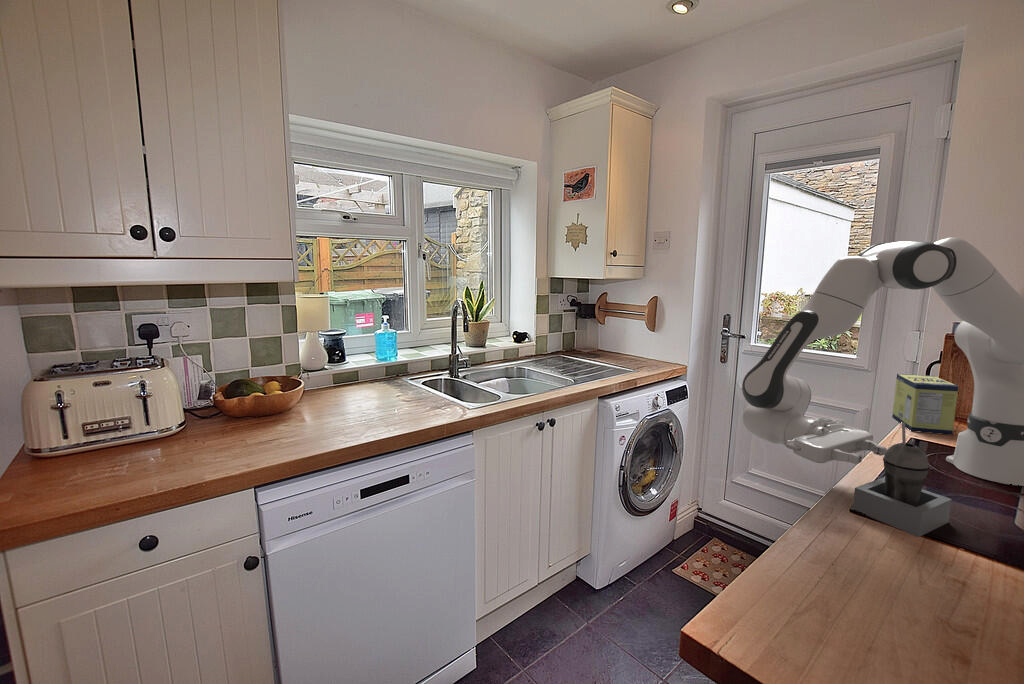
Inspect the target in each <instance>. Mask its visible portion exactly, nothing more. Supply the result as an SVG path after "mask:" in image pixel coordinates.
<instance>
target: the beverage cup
mask: <svg viewBox="0 0 1024 684" xmlns="http://www.w3.org/2000/svg"><path fill="white" fill-rule="evenodd" d="M901 432H902V433H901V437H902V438H901V441H902V442H898V443H894V444H893V445H891V446H890V447H888V448H886V449H887V451H886V452H885V455H883V456H882V457H883V458H882V461H883V467H884V468H883V469H884V477H885V496H887V497H890V498H893V499H895V500H898V501H901V502H903V503H906V504H909V505H912V506H914V507H917V506H918V502H919V498H920V494H921V490H922V489H923V487H924V482H925V479H926V478H927V476H928V473H929V470H930V464H929V463H930V462H929V459H928V456H927V454H926V452H924V451H923V449H922V448H920V447H919V446H917V445H914V444H912V443H908V442H906V441H907V440H906V436H907V435H906V427H905V423H902V424H901Z"/></svg>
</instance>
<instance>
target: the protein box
mask: <svg viewBox="0 0 1024 684" xmlns="http://www.w3.org/2000/svg"><path fill="white" fill-rule="evenodd" d="M958 392H959V385H956V384H954V383H952V382H950V381H947V380H945V379H942V378H940V377H938V376H936V375H923V374H907V373H906V374H905V373H896V382H895V391H894V398H893V406H892V415H891V418H892V419H894V420H895V421H897V422H898V423H899V424H900V423H901V422H902V423H905V428H906V427H907V428H908V429H909V430H908V429H907V428H906V429H907V430H908V431H910V430H911V431H910V432H913V431H921V432H920V433H924V432H932V433H931V434H936V433H942V434H941V435H947V434H952V435H953V432H954V424H955V417H956V410H957V402H958Z"/></svg>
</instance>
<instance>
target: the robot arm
mask: <svg viewBox="0 0 1024 684" xmlns="http://www.w3.org/2000/svg"><path fill="white" fill-rule="evenodd" d="M881 288H887V289H894V290H895V289H898V290H899V289H902V290H903V289H904V290H906V289H908V290H913V291H914V290H924V289H928V288H931V289H933V291H935V293H936V294H937V295H938V296H939V298H940V299H941V300H942V302H944V304H945V305H946V306H947V307H948V308H949V310H950V311H951V312H952V314H954V316H956V317H957V318H958V319H960V320H961V322H960V323H959V324H958V325H957V327H956V328H955V331H954V341H955V344H956V346H958V348H959V349H960V350H962V352H963V353H964V354H965V356H966V358H967V360H968V363H969V365H970V369H971V373H972V377H973V382H974V383H973V396H972V397H973V399H972V407H971V412H970V413H969V414H968V417H967V423H966V427H967V428H966V430H965V429H964V430H963V431H960V432H958V435H957V439H956V445H955V449H954V453H953V454H952V455H948V456H946V458H945V461H946V462H948V463H950V464H953V465H954V466H955V467H956V468H957V469H958V470H960V471H962V472H963V473H965V474H968V475H970V476H973V477H976V478H978V479H979V478H980V479H983V480H987V481H991V482H996V483H999V484H1004V485H1010V484H1012V485H1011V486H1018V485H1019V486H1020V487H1021V486H1022V487H1024V296H1023V295H1022V294H1020V293H1019V292H1018V291H1017V290H1016V289H1015V288H1014V287H1013V286H1012V285H1011V284H1010V283H1009V282H1008V280H1007V279H1005V277H1004V276H1003V275H1002V274H1001V273H1000V271H999V270H998V269H997V268H996V266H995V265H993V263H992V262H991V261H990V260H989V258H987V257H986V256H985V255H984V254H983V253H982V252H981V251H980V250H978V249H977V248H976V247H975V246H974V245H972V243H970V242H968V241H966V240H965V239H963V238H960V237H947V238H943V239H940V240H937V241H935V242H930V241H913V240H911V241H910V240H909V241H908V240H905V241H904V240H902V241H895V242H880V243H875V244H873V245H871V246H868V247H867V248H865V249H864V250H862V251H860V253H859V254H857V255H846V256H842V257H840V258H839V259H837V260H836V261H835V262H834V263H833V265H832V266H830V268H829V270H828V271H827V272H826V274H825V275H824V276H823V277H822V279H821V281H820V282H819V284H818V285H817V286H816V288H815V290H814V292H813V294H812V295H811V297H810V298H809V300H808V301H807V303H806V304H805V305H804V306H803V308H802V309H800V311H799V312H798V313H797V312H796V314H795V315H793V316H792V318H791V319H790V320H789V321H788V322H787V323H786V324H785V326H784V327H783V329H782V330H781V331H780V332H779V334H778V335H777V337H776V339H775V340H774V341H773V343H771V346H770V347H769V348H768V350H767V351H766V353H764V355H763V356H762V358H761V359H760V360H759V362H757V364H755V366H753V367H752V368H751V369H750V370H749V371H748V372H747V373H746V374H745V376H744V378H743V380H742V383H741V384H742V385H741V387H742V388H741V391H742V395H743V397H744V399H745V401H746V402H747V403H748V404H749V405H748V406H746V408H745V409H744V411H743V413H742V424H743V426H744V428H745V429H746V431H747V432H748V433H749V434H751V435H752V436H754V437H756V438H758V439H760V440H763V441H766V442H768V443H771V444H774V445H781V446H784V447H786V449H788V450H790V451H791V450H792V452H793V453H794V454H795V455H797V456H799V457H801V458H803V459H806V460H808V461H811V462H812V463H813V462H814V463H815V464H816V463H818V464H825V463H828V462H832V461H838V462H843V463H844V462H846V463H851V464H854V465H858V464H861V463H862V461H863V460H862V459H863V456H862V455H861V454H858V453H861V452H863V451H870V452H872V454H873V455H877V456H880V457H881V456H882V457H883V456H884V455H885V452H886V451H887V449H888V448H887V447H886V446H883V445H880V444H878V443H876V442H875V441H874V436H873V434H872V433H870V432H869V431H866V430H864V429H861V428H858V427H855V426H851V425H848V424H844V423H837V420H836V419H833V418H832V419H831V418H814V417H811V416H810V417H807V416H805V414H806V412H807V409H808V408H809V405H810V402H811V399H812V391H811V388H810V386H809V385H808V383H807V382H806V381H805V380H803V379H801V378H799V377H795V376H793V375H790V374H787V373H788V372H789V370H790V368H791V367H792V365H793V364H794V363H795V362H796V360H797V359H798V357H799V356H800V354H801V352H803V350H804V349H805V348H806V347H807V346H808V345H809V344H811V343H812V342H814V341H816V340H820V339H823V338H828V337H829V338H831V337H836V336H840V335H843V334H844V333H848V332H849V331H850V329H851V328H853V327H854V325H856V323H857V322H858V320H859V319H860V317H861V315H862V314H863V312H864V310H865V309H866V307H867V306H868V303H869V301H870V299H871V298H872V296H873V295H874V294H875V293H876V292H877V291H878V290H879V289H881Z"/></svg>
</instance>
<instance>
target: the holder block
mask: <svg viewBox="0 0 1024 684" xmlns="http://www.w3.org/2000/svg"><path fill="white" fill-rule="evenodd" d="M952 501H953V499H952V498H949V497H946V496H944V495H940V494H938V493H934V492H931V491H928V490H926V489H923V488H922V490H921V494H920V498H919V502H918V506H917V507H914V506H912V505H909V504H906V503H903V502H901V501H898V500H895V499H893V498H890V497H887V496H885V476H883V477H880V478H878V479H874V480H872V481H869V482H867V483H864V484H861V485H858V486H856V487H854V493H853V502H852V503H853V505H852V511H854V510H857V511H859V512H862V513H863V514H862V513H861V514H862V515H864V514H866V515H865V516H867V517H869V518H872V519H874V520H876V521H879V522H881V523H883V524H886V525H889V526H891V527H893V528H896V529H898V530H901V531H903V532H905V533H908V534H910V535H913V536H915V537H918V538H920V537H922V536H924V535H926V534H928V533H930V532H932V531H934V530H936V529H939V528H940V527H943V526H945V525H946V524H949V522H950V514H951V509H952V508H951V507H952ZM857 511H856V512H857ZM859 512H858V513H859Z"/></svg>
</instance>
